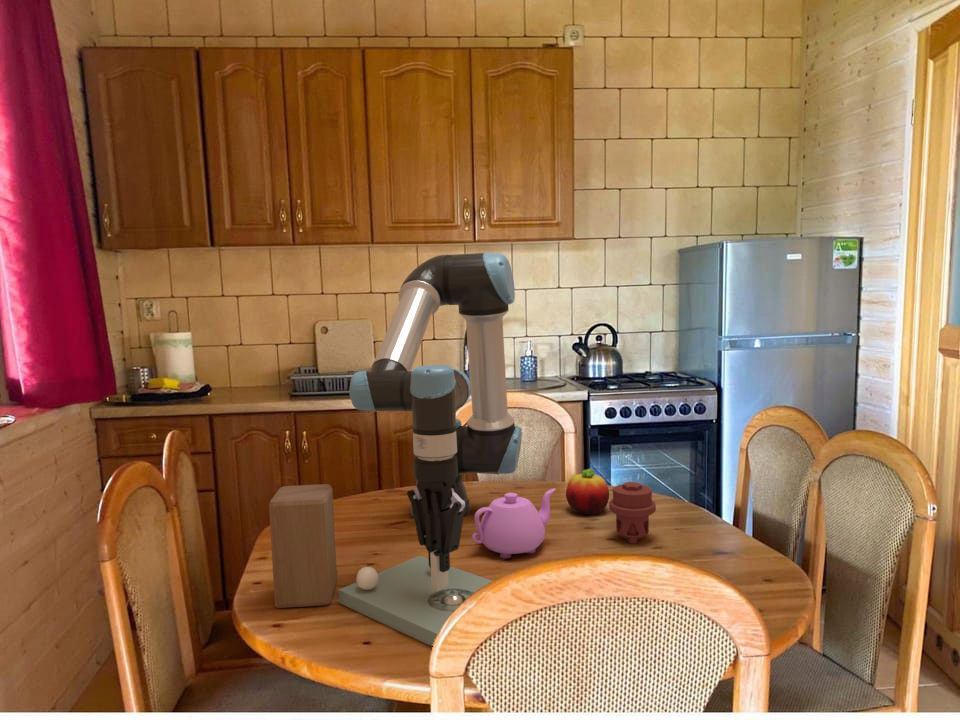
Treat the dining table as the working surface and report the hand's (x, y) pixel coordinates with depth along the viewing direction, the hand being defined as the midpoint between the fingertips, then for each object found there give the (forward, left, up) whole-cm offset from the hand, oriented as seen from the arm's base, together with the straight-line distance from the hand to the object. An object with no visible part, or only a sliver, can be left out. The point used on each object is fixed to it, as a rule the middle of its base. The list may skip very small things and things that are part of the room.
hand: (440, 587), depth 118 cm
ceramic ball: (-12, -6, +1) cm, 14 cm away
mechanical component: (+10, +50, -4) cm, 51 cm away
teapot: (-7, +30, -4) cm, 31 cm away
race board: (-3, 0, -4) cm, 5 cm away
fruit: (-8, +60, -4) cm, 61 cm away
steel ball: (+3, 0, -2) cm, 4 cm away
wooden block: (-23, -12, -4) cm, 26 cm away
